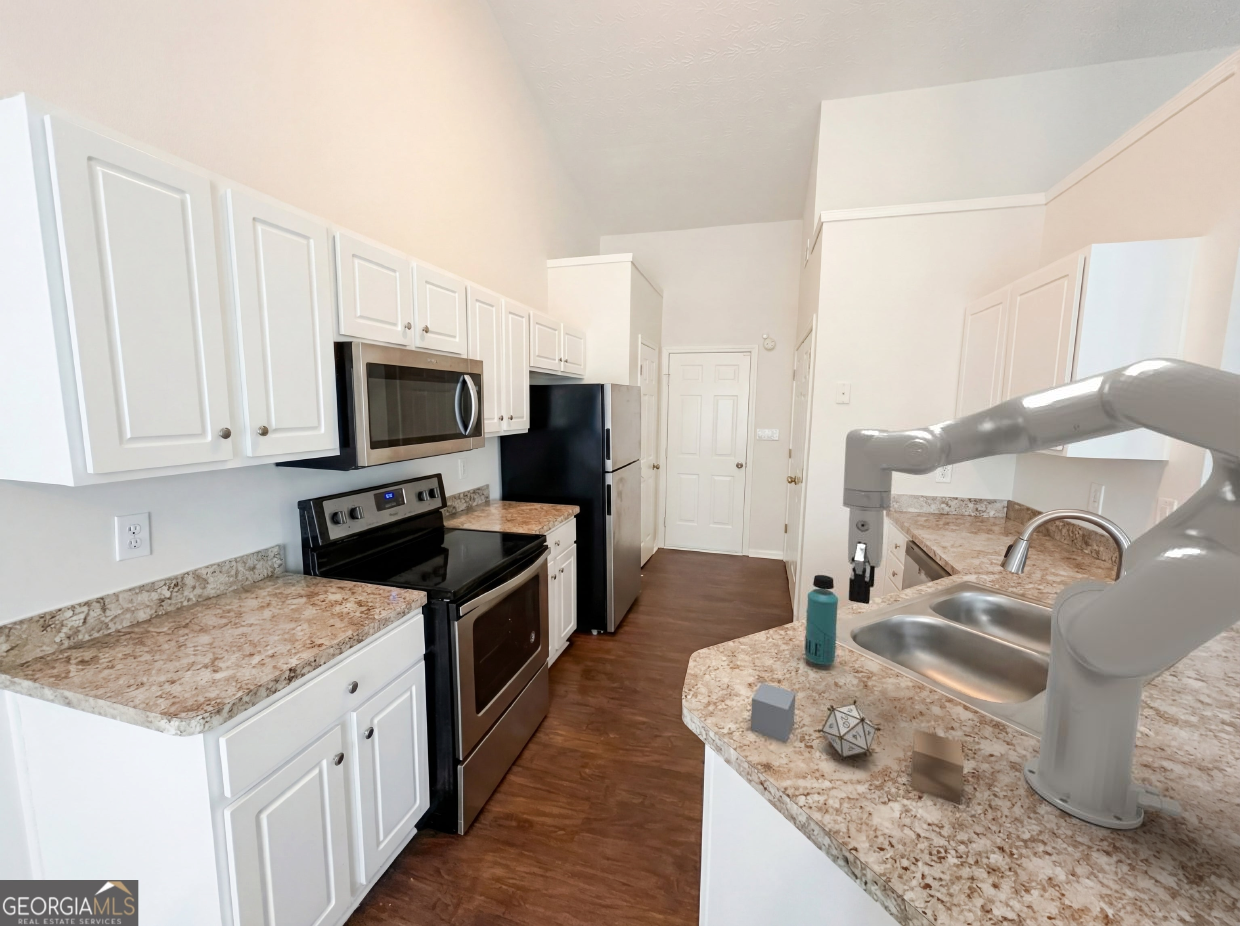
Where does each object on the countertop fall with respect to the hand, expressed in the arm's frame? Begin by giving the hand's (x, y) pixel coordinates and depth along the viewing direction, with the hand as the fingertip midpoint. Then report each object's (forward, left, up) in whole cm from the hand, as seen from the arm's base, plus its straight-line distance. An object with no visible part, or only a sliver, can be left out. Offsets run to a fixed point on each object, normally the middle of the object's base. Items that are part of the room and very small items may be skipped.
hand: (861, 593), depth 87 cm
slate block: (+12, +12, -23) cm, 29 cm away
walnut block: (-12, +12, -23) cm, 29 cm away
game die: (0, +12, -23) cm, 26 cm away
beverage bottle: (+9, -16, -23) cm, 30 cm away
